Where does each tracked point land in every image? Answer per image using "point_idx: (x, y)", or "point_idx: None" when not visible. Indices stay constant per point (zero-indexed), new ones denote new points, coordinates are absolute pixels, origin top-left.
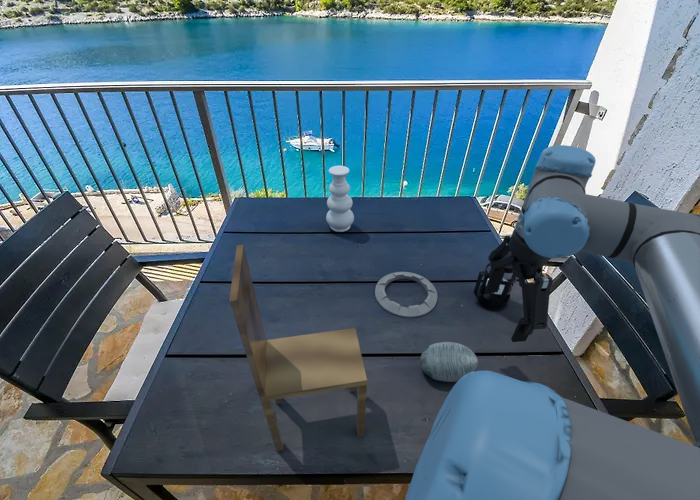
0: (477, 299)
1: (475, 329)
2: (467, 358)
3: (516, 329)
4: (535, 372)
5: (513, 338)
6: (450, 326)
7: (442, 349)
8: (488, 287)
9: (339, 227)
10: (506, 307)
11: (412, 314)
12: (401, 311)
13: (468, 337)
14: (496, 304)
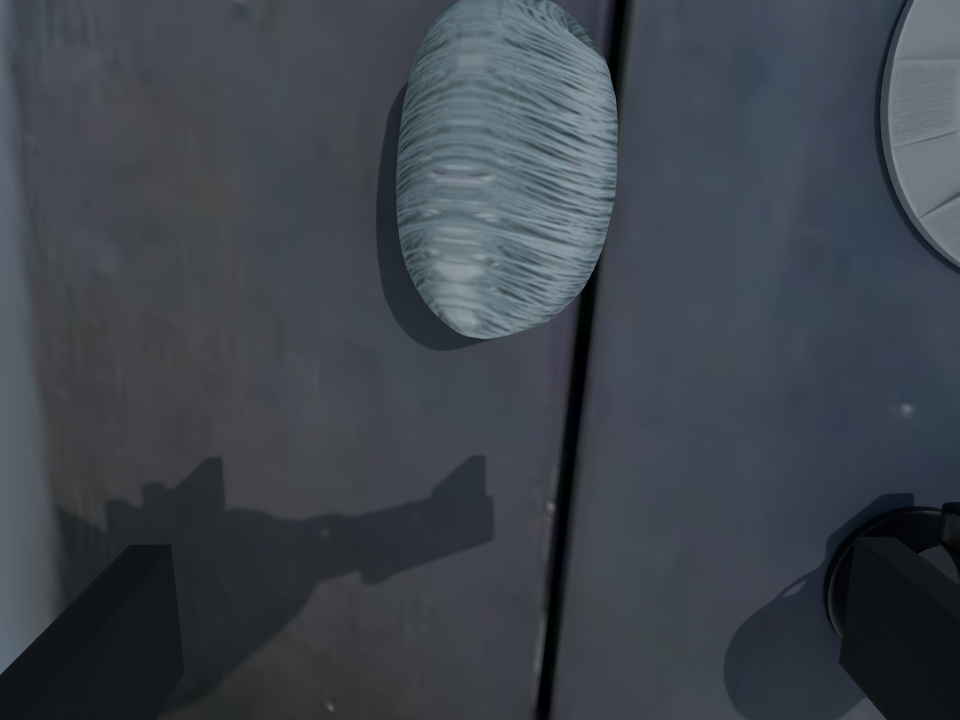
0: (926, 510)
1: (729, 426)
2: (461, 265)
3: (51, 662)
4: (451, 606)
5: (118, 570)
6: (773, 297)
7: (534, 113)
8: (916, 595)
9: None
10: (838, 635)
11: (902, 79)
12: (942, 8)
13: (685, 371)
14: None
